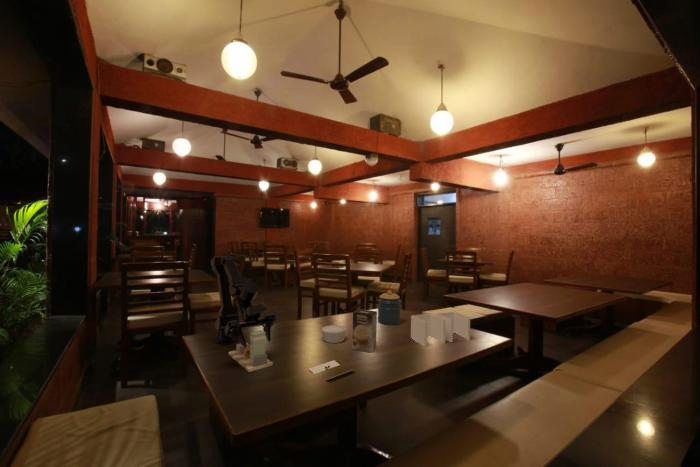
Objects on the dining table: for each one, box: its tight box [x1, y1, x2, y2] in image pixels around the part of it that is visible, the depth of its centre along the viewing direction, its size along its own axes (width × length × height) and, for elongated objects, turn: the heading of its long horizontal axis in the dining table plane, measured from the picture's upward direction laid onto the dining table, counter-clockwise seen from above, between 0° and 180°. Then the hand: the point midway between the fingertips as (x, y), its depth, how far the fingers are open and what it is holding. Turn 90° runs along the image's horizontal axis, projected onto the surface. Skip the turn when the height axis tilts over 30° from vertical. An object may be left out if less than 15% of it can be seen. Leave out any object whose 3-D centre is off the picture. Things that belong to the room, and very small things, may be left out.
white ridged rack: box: [235, 342, 268, 367], centre depth 121 cm, size 18×5×3 cm, turn 40°
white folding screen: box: [410, 311, 471, 347], centre depth 148 cm, size 25×11×11 cm, turn 111°
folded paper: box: [308, 360, 355, 381], centre depth 112 cm, size 12×12×2 cm
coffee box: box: [351, 308, 378, 354], centre depth 135 cm, size 9×6×16 cm
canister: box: [377, 290, 402, 326], centre depth 176 cm, size 13×13×18 cm
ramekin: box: [321, 324, 347, 344], centre depth 146 cm, size 11×11×5 cm
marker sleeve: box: [249, 329, 266, 364], centre depth 116 cm, size 3×4×11 cm
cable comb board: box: [228, 349, 274, 373], centre depth 122 cm, size 20×9×1 cm, turn 40°
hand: (258, 344), depth 116 cm, fingers open, 9 cm apart
